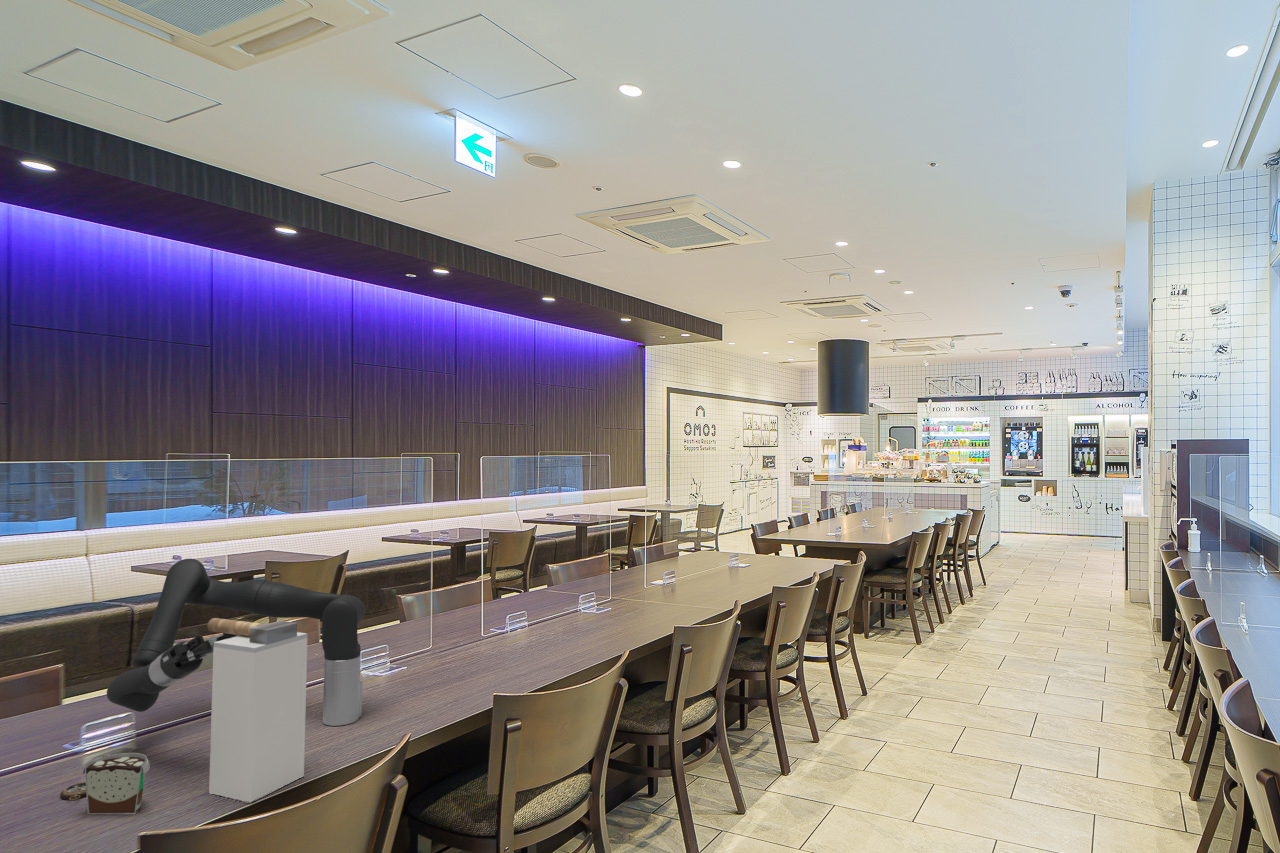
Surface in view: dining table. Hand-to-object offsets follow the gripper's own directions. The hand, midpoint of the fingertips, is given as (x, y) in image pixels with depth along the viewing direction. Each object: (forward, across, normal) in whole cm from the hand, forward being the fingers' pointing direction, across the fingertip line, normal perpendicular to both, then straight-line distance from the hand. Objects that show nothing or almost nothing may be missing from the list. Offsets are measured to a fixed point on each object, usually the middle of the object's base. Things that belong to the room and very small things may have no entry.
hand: (219, 634), depth 168 cm
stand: (-5, 0, +34) cm, 34 cm away
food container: (-19, -18, +25) cm, 37 cm away
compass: (-31, -18, +19) cm, 40 cm away
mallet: (+8, 0, +4) cm, 9 cm away
